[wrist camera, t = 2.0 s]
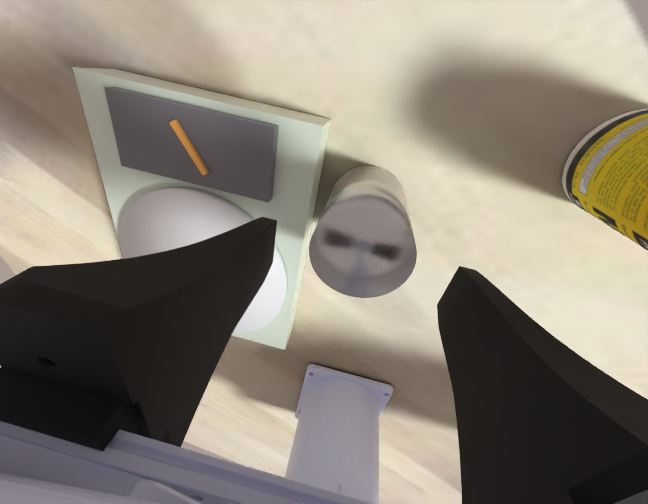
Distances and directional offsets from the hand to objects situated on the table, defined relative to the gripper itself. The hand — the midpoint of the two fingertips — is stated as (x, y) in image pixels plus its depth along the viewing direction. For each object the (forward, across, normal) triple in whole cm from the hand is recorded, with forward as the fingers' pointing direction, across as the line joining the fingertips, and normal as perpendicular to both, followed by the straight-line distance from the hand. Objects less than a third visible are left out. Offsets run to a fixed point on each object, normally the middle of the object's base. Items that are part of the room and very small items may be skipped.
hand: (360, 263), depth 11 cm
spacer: (+7, 0, 0) cm, 7 cm away
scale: (+6, +9, +4) cm, 12 cm away
